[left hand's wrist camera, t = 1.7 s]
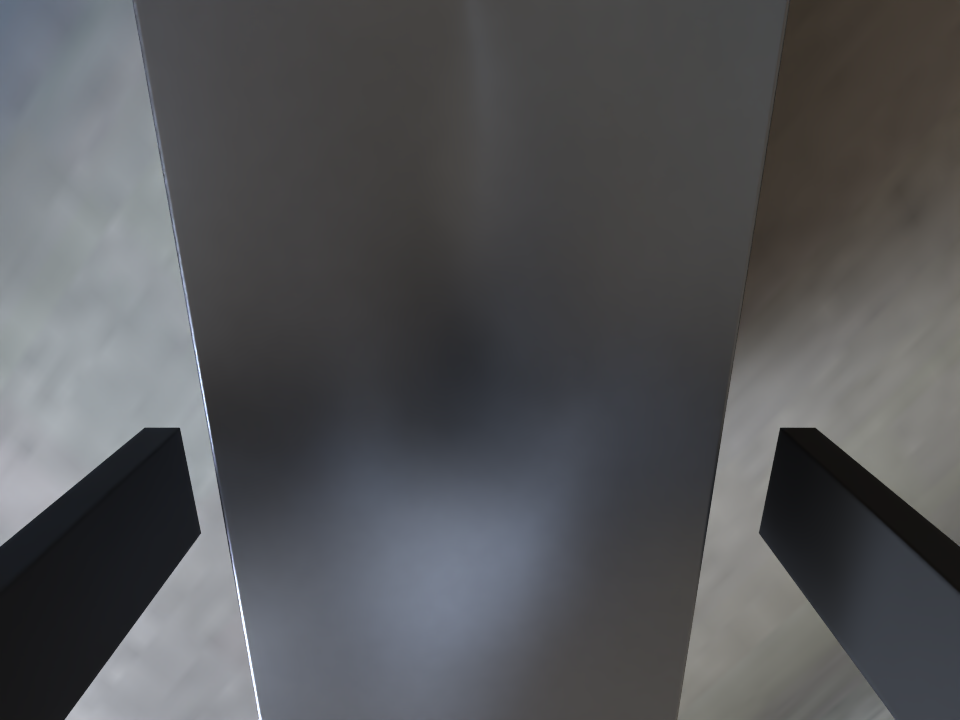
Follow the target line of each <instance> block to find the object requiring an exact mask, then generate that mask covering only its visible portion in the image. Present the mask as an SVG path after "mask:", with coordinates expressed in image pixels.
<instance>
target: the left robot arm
mask: <svg viewBox="0 0 960 720" xmlns="http://www.w3.org/2000/svg"><path fill="white" fill-rule="evenodd" d="M200 534H201V531H200V526H199V521H198V516H197V511H196V506H195V501H194V496H193V491H192V486H191V481H190V476H189V471H188V466H187V461H186V456H185V451H184V446H183V441H182V436H181V431H180V428H144V429H143V430H141V431H140V432H139V433H138V434H137V435H135V436H134V437H133V438H132V439H131V440H129V441H128V442H127V443H126V444H124V445H123V446H122V447H121V448H120V449H118V450H117V451H116V452H115V453H114V454H112V455H111V456H110V457H109V458H107V459H106V460H105V461H104V462H103V463H101V464H100V465H99V466H98V467H97V468H95V469H94V470H93V471H92V472H90V473H89V474H88V475H87V476H86V477H84V478H83V479H82V480H81V481H80V482H78V483H77V484H76V485H75V486H73V487H72V488H71V489H70V490H69V491H67V492H66V493H65V494H64V495H63V496H61V497H60V498H59V499H58V500H56V501H55V502H54V503H53V504H52V505H50V506H49V507H48V508H47V509H46V510H44V511H43V512H42V513H41V514H39V515H38V516H37V517H36V518H35V519H33V520H32V521H31V522H30V523H29V524H27V525H26V526H25V527H24V528H22V529H21V530H20V531H19V532H18V533H16V534H15V535H14V536H13V537H12V538H10V539H9V540H8V541H7V542H5V543H4V544H3V545H2V546H1V547H0V720H65V718H66V717H67V716H68V714H69V713H70V711H71V710H72V709H73V707H74V706H75V705H76V703H77V702H78V701H79V699H80V698H81V696H82V695H83V694H84V692H85V691H86V690H87V688H88V687H89V686H90V684H91V683H92V681H93V680H94V679H95V677H96V676H97V675H98V673H99V672H100V670H101V669H102V668H103V666H104V665H105V664H106V662H107V661H108V660H109V658H110V657H111V655H112V654H113V653H114V651H115V650H116V649H117V647H118V646H119V644H120V643H121V642H122V640H123V639H124V638H125V636H126V635H127V634H128V632H129V631H130V629H131V628H132V627H133V625H134V624H135V623H136V621H137V620H138V619H139V617H140V616H141V614H142V613H143V612H144V610H145V609H146V608H147V606H148V605H149V603H150V602H151V601H152V599H153V598H154V597H155V595H156V594H157V593H158V591H159V590H160V588H161V587H162V586H163V584H164V583H165V582H166V580H167V579H168V578H169V576H170V575H171V573H172V572H173V571H174V569H175V568H176V567H177V565H178V564H179V562H180V561H181V560H182V558H183V557H184V556H185V554H186V553H187V552H188V550H189V549H190V547H191V546H192V545H193V543H194V542H195V541H196V539H197V538H198V537H199V535H200ZM759 534H760V535H761V537H762V538H763V539H764V541H765V542H766V543H767V545H768V546H769V547H770V549H771V550H772V552H773V553H774V554H775V556H776V557H777V558H778V560H779V561H780V562H781V564H782V565H783V567H784V568H785V569H786V571H787V572H788V573H789V575H790V576H791V578H792V579H793V580H794V582H795V583H796V584H797V586H798V587H799V588H800V590H801V591H802V593H803V594H804V595H805V597H806V598H807V599H808V601H809V602H810V603H811V605H812V606H813V608H814V609H815V610H816V612H817V613H818V614H819V616H820V617H821V619H822V620H823V621H824V623H825V624H826V625H827V627H828V628H829V629H830V631H831V632H832V634H833V635H834V636H835V638H836V639H837V640H838V642H839V643H840V644H841V646H842V647H843V649H844V650H845V651H846V653H847V654H848V655H849V657H850V658H851V660H852V661H853V662H854V664H855V665H856V666H857V668H858V669H859V670H860V672H861V673H862V675H863V676H864V677H865V679H866V680H867V681H868V683H869V684H870V686H871V687H872V688H873V690H874V691H875V692H876V694H877V695H878V696H879V698H880V699H881V701H882V702H883V703H884V705H885V706H886V707H887V709H888V710H889V711H890V713H891V714H892V716H893V717H894V718H895V720H960V547H959V546H958V545H957V544H956V543H955V542H953V541H952V540H951V539H950V538H948V537H947V536H946V535H945V534H944V533H942V532H941V531H940V530H939V529H938V528H936V527H935V526H934V525H933V524H931V523H930V522H929V521H928V520H927V519H925V518H924V517H923V516H922V515H921V514H919V513H918V512H917V511H916V510H914V509H913V508H912V507H911V506H910V505H908V504H907V503H906V502H905V501H904V500H902V499H901V498H900V497H899V496H897V495H896V494H895V493H894V492H893V491H891V490H890V489H889V488H888V487H887V486H885V485H884V484H883V483H882V482H880V481H879V480H878V479H877V478H876V477H874V476H873V475H872V474H871V473H870V472H868V471H867V470H866V469H865V468H863V467H862V466H861V465H860V464H859V463H857V462H856V461H855V460H854V459H853V458H851V457H850V456H849V455H848V454H846V453H845V452H844V451H843V450H842V449H840V448H839V447H838V446H837V445H836V444H834V443H833V442H832V441H831V440H829V439H828V438H827V437H826V436H825V435H823V434H822V433H821V432H820V431H819V430H817V429H816V428H780V431H779V436H778V441H777V446H776V451H775V456H774V461H773V466H772V471H771V476H770V481H769V486H768V491H767V496H766V501H765V506H764V511H763V516H762V521H761V526H760V531H759Z"/></svg>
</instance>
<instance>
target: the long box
mask: <svg viewBox="0 0 960 720" xmlns="http://www.w3.org/2000/svg"><path fill="white" fill-rule="evenodd" d="M789 4H790V0H133V6H134V11H135V17H136V23H137V28H138V34H139V40H140V45H141V51H142V57H143V63H144V68H145V74H146V80H147V85H148V91H149V97H150V102H151V108H152V114H153V119H154V125H155V131H156V136H157V142H158V148H159V153H160V159H161V165H162V170H163V176H164V182H165V187H166V193H167V199H168V204H169V210H170V216H171V221H172V227H173V233H174V238H175V244H176V250H177V256H178V261H179V267H180V273H181V278H182V284H183V290H184V295H185V301H186V307H187V312H188V318H189V324H190V329H191V335H192V341H193V346H194V352H195V358H196V363H197V369H198V375H199V380H200V386H201V392H202V397H203V403H204V409H205V414H206V420H207V426H208V431H209V437H210V443H211V448H212V454H213V460H214V466H215V471H216V477H217V483H218V488H219V494H220V500H221V505H222V511H223V517H224V522H225V528H226V534H227V539H228V545H229V551H230V556H231V562H232V568H233V573H234V579H235V585H236V590H237V596H238V602H239V607H240V613H241V619H242V624H243V630H244V636H245V641H246V647H247V653H248V658H249V664H250V670H251V676H252V681H253V687H254V693H255V698H256V704H257V710H258V715H259V720H677V717H678V710H679V704H680V698H681V691H682V685H683V679H684V672H685V666H686V659H687V653H688V647H689V640H690V634H691V628H692V621H693V615H694V609H695V602H696V596H697V590H698V583H699V577H700V570H701V564H702V558H703V551H704V545H705V539H706V532H707V526H708V520H709V513H710V507H711V500H712V494H713V488H714V481H715V475H716V469H717V462H718V456H719V450H720V443H721V437H722V430H723V424H724V418H725V411H726V405H727V399H728V392H729V386H730V380H731V373H732V367H733V361H734V354H735V348H736V341H737V335H738V329H739V322H740V316H741V310H742V303H743V297H744V291H745V284H746V278H747V271H748V265H749V259H750V252H751V246H752V240H753V233H754V227H755V221H756V214H757V208H758V201H759V195H760V189H761V182H762V176H763V170H764V163H765V157H766V151H767V144H768V138H769V132H770V125H771V119H772V112H773V106H774V100H775V93H776V87H777V81H778V74H779V68H780V62H781V55H782V49H783V42H784V36H785V30H786V23H787V17H788V11H789Z"/></svg>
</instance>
